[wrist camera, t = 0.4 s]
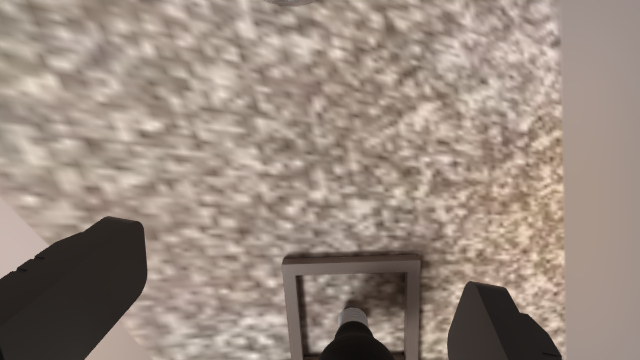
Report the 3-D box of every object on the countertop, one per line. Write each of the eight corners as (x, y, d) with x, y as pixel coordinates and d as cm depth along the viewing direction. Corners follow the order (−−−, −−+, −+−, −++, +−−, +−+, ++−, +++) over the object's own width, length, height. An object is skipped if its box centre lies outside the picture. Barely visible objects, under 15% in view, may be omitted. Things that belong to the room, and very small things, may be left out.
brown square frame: (283, 258, 29) (281, 264, 28) (417, 254, 29) (420, 260, 28) (293, 365, 32) (292, 374, 31) (415, 363, 32) (417, 372, 31)
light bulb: (388, 285, 30) (415, 385, 20) (383, 342, 31) (404, 460, 22) (319, 281, 30) (312, 380, 20) (317, 339, 32) (310, 455, 22)
